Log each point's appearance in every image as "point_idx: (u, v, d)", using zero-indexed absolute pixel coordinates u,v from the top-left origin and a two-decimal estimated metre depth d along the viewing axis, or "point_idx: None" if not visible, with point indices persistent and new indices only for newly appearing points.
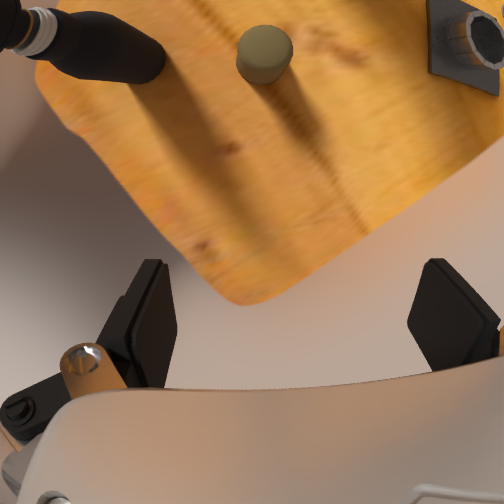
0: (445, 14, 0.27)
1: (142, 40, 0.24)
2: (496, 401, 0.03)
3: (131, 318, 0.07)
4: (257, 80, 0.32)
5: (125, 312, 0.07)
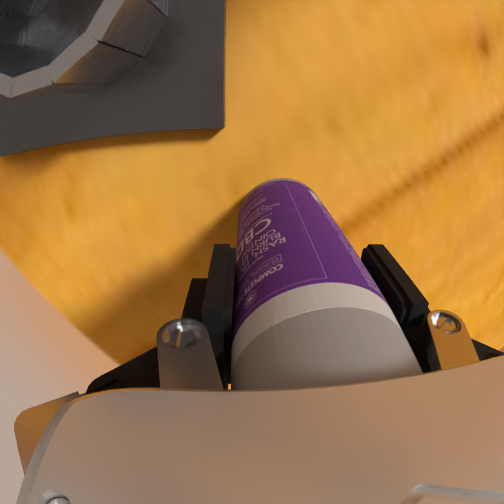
0: None
1: None
2: (496, 401, 0.03)
3: (224, 293, 0.08)
4: None
5: (215, 289, 0.08)
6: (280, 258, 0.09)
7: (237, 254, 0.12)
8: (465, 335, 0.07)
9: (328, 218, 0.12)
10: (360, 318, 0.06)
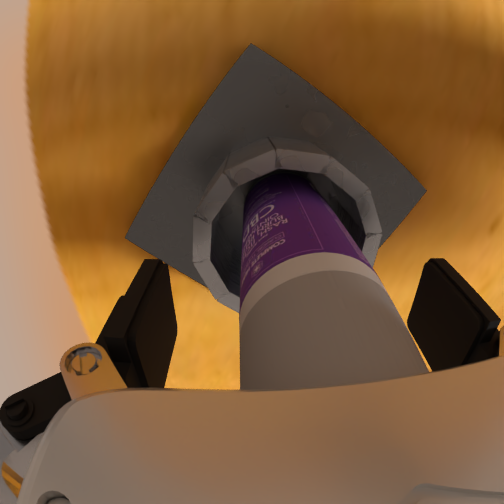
0: None
1: None
2: (496, 401, 0.03)
3: (131, 318, 0.07)
4: None
5: (125, 312, 0.07)
6: (283, 234, 0.10)
7: (243, 237, 0.13)
8: None
9: (325, 205, 0.13)
10: (350, 279, 0.07)
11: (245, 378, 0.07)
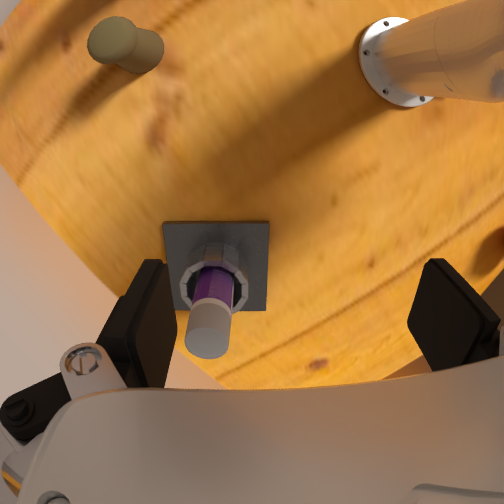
0: (239, 242, 0.42)
1: None
2: (496, 401, 0.03)
3: (131, 318, 0.07)
4: None
5: (125, 312, 0.07)
6: (194, 297, 0.36)
7: None
8: None
9: (213, 273, 0.38)
10: (199, 306, 0.33)
11: None
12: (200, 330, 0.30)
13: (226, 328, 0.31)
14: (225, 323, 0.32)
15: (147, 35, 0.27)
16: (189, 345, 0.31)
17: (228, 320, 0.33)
